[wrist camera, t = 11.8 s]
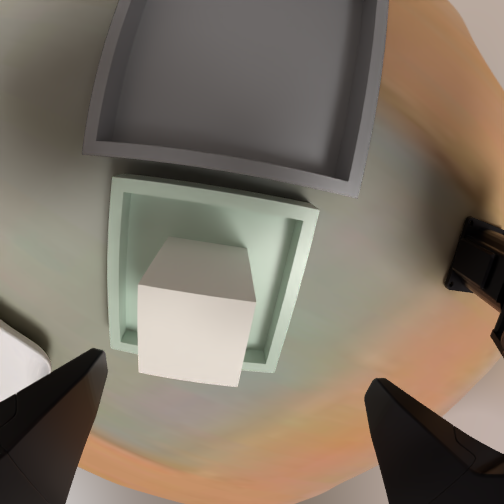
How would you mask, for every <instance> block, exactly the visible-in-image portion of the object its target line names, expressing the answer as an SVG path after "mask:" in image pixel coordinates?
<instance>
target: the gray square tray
mask: <svg viewBox="0 0 504 504" xmlns="http://www.w3.org/2000/svg"><path fill="white" fill-rule="evenodd" d="M388 5H389V0H119V2H118V5H117V8H116V10H115V13H114V16H113V19H112V22H111V25H110V28H109V31H108V34H107V37H106V40H105V44H104V47H103V50H102V54H101V58H100V61H99V65H98V69H97V73H96V77H95V82H94V86H93V91H92V95H91V100H90V105H89V111H88V116H87V122H86V128H85V135H84V142H83V150H82V154H83V155H97V156H109V157H120V158H130V159H139V160H148V161H157V162H165V163H173V164H180V165H187V166H194V167H201V168H208V169H214V170H220V171H226V172H232V173H238V174H244V175H250V176H255V177H260V178H266V179H271V180H276V181H281V182H286V183H291V184H296V185H300V186H305V187H310V188H314V189H319V190H323V191H327V192H332V193H336V194H340V195H344V196H348V197H352V198H357V199H358V195H359V191H360V187H361V183H362V178H363V174H364V169H365V165H366V160H367V155H368V150H369V145H370V140H371V135H372V130H373V125H374V119H375V113H376V107H377V101H378V95H379V88H380V81H381V74H382V67H383V59H384V50H385V41H386V31H387V19H388Z"/></svg>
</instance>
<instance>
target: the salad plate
mask: <svg viewBox="0 0 504 504" xmlns="http://www.w3.org/2000/svg"><path fill="white" fill-rule="evenodd" d="M51 372H52V367H51V361H50V359H49V357H48V356H47V354H46V353H45V352H44V350H43V349H42V348H41V347H39V346H38V345H37V344H36V343H34V342H33V341H31V340H30V339H28V338H27V337H25V336H24V335H22V334H21V333H19V332H18V331H16V330H15V329H13V328H12V327H10V326H9V325H7V324H6V323H5V322H3V321H2V320H1V319H0V402H1V401H3V400H5V399H6V398H8V397H10V396H12V395H13V394H17V392H19V391H20V390H22V389H24V388H25V387H27V386H29V385H30V384H32V383H34V382H36V381H37V380H39V379H41V378H42V377H44V376H46V375H47V374H49V373H51Z"/></svg>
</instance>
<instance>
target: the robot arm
mask: <svg viewBox="0 0 504 504" xmlns="http://www.w3.org/2000/svg"><path fill="white" fill-rule="evenodd" d="M470 221H471V222H470ZM445 287H446V288H447V289H449V290H455V291H462V292H470V293H475V294H476V295H477V296H479V297H480V298H481V299H483V300H484V301H485V302H487V303H488V304H489V305H491V306H492V307H493V308H494V309H496V310H497V311H498V312H499V313H500V315H499V318H498V320H497V323H496V325H495V328H494V329H493V330H492V333H491V335H490V336H491V338H492V340H493V341H494V343H495V344H496V346H497V348H498V349H499V351H500V353H501V354H502V356H503V358H504V230H502V229H500V228H497V227H495V226H493V225H490V224H488V223H485V222H483V221H480V220H478V219H475V218H473V217H470V216H468V217H467V218H466V220H465V223H464V227H463V230H462V234H461V237H460V240H459V244H458V247H457V250H456V253H455V256H454V259H453V262H452V265H451V268H450V270H449V273H448V276H447V279H446V281H445ZM107 373H108V369H107V362H106V354H105V352H104V351H103V350H100V349H96V348H92V349H90V350H88V351H86V352H85V353H83V354H81V355H80V356H78V357H76V358H75V359H73V360H71V361H70V362H68V363H66V364H64V365H63V366H61V367H59V368H58V369H56V370H54V371H53V372H51V373H49V374H47V375H46V376H44V377H42V378H41V379H39V380H37V381H36V382H34V383H32V384H30V385H29V386H27V387H25V388H24V389H22V390H20V391H19V392H17V394H13V395H12V396H10V397H8V398H6V399H5V400H3V401H1V402H0V504H65V503H66V500H67V497H68V493H69V490H70V487H71V484H72V481H73V478H74V475H75V471H76V469H77V466H78V463H79V460H80V458H81V455H82V452H83V449H84V446H85V444H86V441H87V438H88V436H89V433H90V430H91V428H92V425H93V423H94V420H95V417H96V414H97V411H98V408H99V404H100V400H101V396H102V392H103V389H104V385H105V381H106V378H107ZM364 401H365V406H366V412H367V417H368V423H369V429H370V434H371V438H372V442H373V445H374V449H375V452H376V456H377V459H378V463H379V466H380V470H381V474H382V478H383V482H384V485H385V489H386V493H387V497H388V501H389V504H504V454H502V453H500V452H498V451H496V450H494V449H492V448H490V447H488V446H487V445H485V444H483V443H481V442H479V441H477V440H476V439H474V438H472V437H470V436H469V435H467V434H466V433H464V432H463V431H461V430H460V429H458V428H456V427H455V426H453V425H452V424H451V423H449V422H448V421H446V420H445V419H443V418H442V417H440V416H439V415H437V414H436V413H434V412H433V411H432V410H430V409H429V408H427V407H426V406H424V405H423V404H421V403H420V402H419V401H417V400H416V399H414V398H413V397H411V396H410V395H408V394H407V393H406V392H404V391H403V390H401V389H400V388H398V387H397V386H396V385H394V384H393V383H391V382H390V381H388V380H387V379H386V378H375V379H374V380H373V381H372V383H371V385H370V386H369V388H368V390H367V392H366V394H365V398H364Z"/></svg>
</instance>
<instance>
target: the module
mask: <svg viewBox="0 0 504 504" xmlns="http://www.w3.org/2000/svg"><path fill="white" fill-rule="evenodd" d="M255 307H256V297H255V291H254V285H253V279H252V274H251V268H250V262H249V256H248V250H247V248H241V247H235V246H228V245H222V244H215V243H209V242H202V241H196V240H189V239H183V238H176V237H170V236H169V237H168V238H167V240H166V241H165V243H164V244H163V246H162V247H161V249H160V250H159V252H158V253H157V255H156V256H155V258H154V260H153V261H152V263H151V264H150V266H149V267H148V269H147V270H146V272H145V274H144V275H143V277H142V278H141V280H140V282H139V283H138V301H137V330H138V364H139V372H140V373H145V374H150V375H155V376H160V377H166V378H172V379H178V380H185V381H191V382H199V383H206V384H214V385H223V386H233V387H238V382H239V378H240V374H241V369H242V365H243V360H244V356H245V352H246V347H247V343H248V338H249V334H250V329H251V325H252V320H253V316H254V311H255Z"/></svg>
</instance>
